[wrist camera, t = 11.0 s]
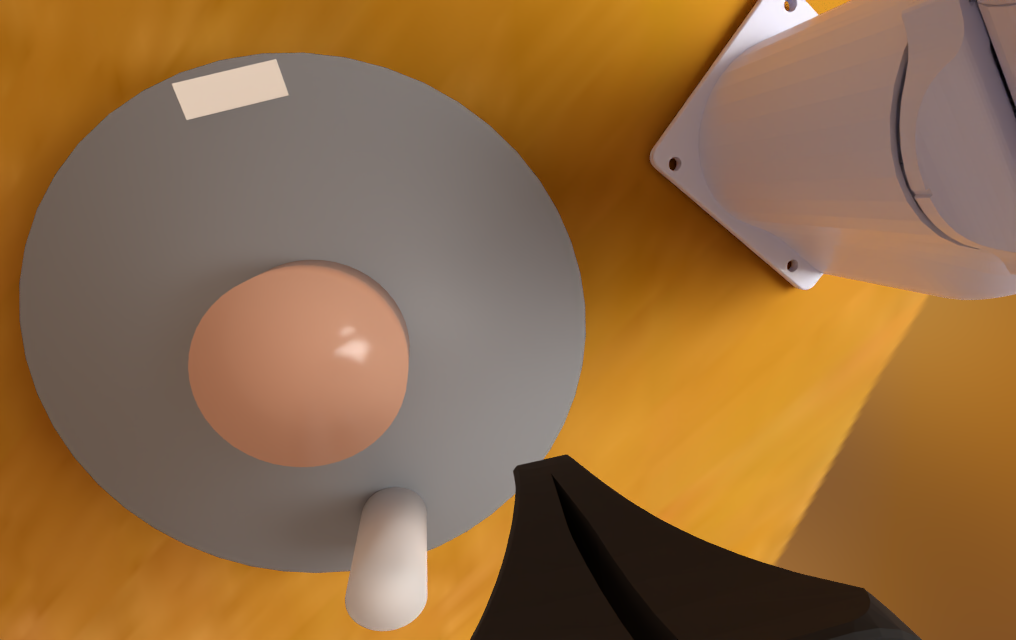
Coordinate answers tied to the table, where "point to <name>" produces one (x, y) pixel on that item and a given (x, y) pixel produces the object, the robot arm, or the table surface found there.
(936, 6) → the robot arm
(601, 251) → the table surface
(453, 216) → the turntable
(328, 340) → the pink rounded disc
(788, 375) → the table surface
